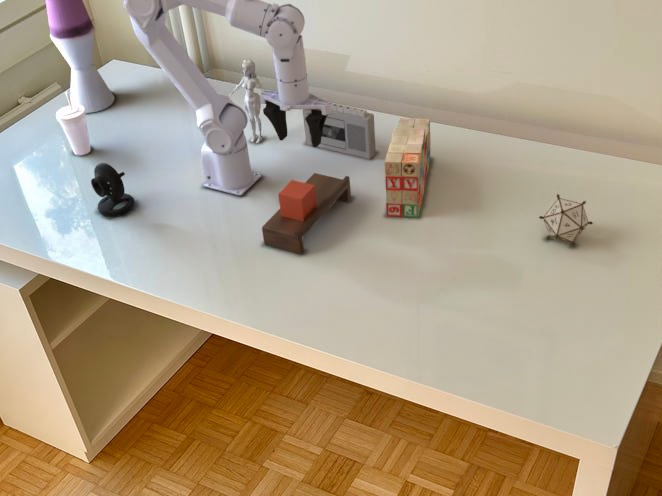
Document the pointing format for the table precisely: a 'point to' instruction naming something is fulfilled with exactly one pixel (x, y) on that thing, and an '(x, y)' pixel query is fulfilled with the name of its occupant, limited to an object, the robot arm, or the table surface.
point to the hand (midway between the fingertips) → (300, 141)
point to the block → (297, 200)
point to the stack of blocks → (407, 167)
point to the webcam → (110, 191)
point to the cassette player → (346, 131)
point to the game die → (566, 220)
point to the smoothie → (75, 126)
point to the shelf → (292, 231)
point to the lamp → (78, 53)
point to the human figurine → (251, 96)
